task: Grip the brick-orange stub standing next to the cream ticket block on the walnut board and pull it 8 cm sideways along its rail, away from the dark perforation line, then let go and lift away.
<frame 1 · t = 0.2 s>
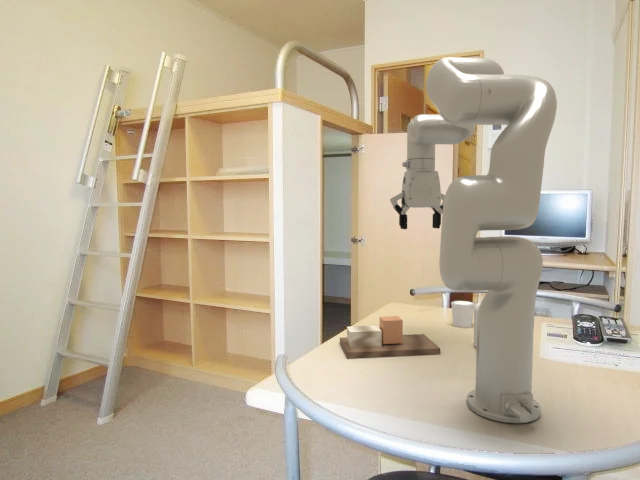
hand: (420, 228, 123), 30 cm above the table, fingers open, 9 cm apart
ticket board: (381, 348, 115), on the table
white cup: (462, 325, 136), on the table
photo printer: (493, 351, 113), on the table
stub: (390, 329, 115), point 5 cm above the table, slide at 0.0 cm
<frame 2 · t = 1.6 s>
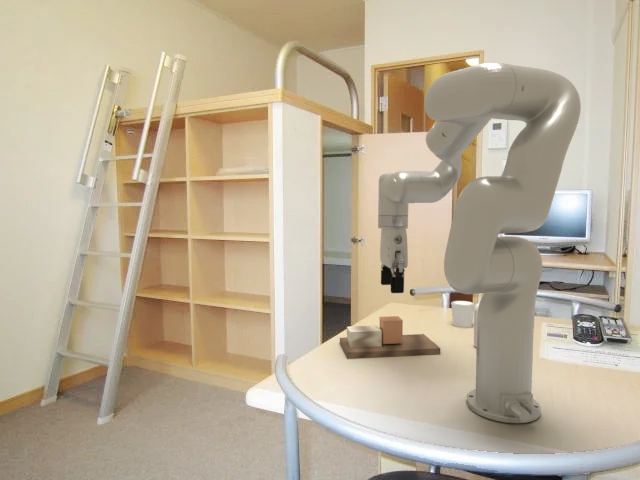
hand: (391, 288, 114), 16 cm above the table, fingers open, 9 cm apart
nothing on the table moved.
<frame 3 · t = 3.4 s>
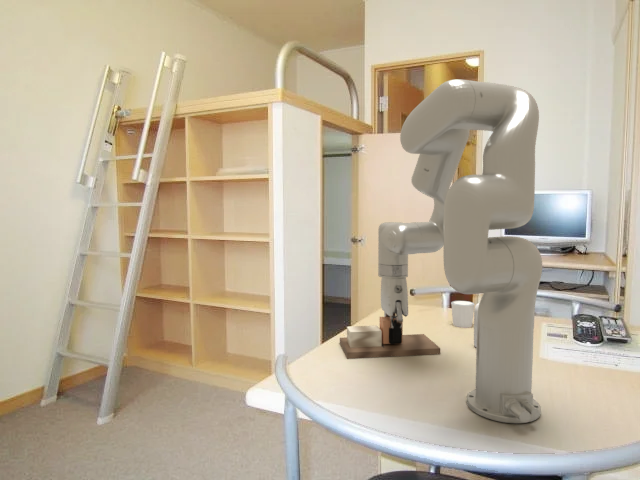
hand: (392, 339, 115), 2 cm above the table, fingers closed on stub, 4 cm apart
stub: (390, 329, 115), point 5 cm above the table, slide at 0.0 cm, touching gripper
everything else where it was.
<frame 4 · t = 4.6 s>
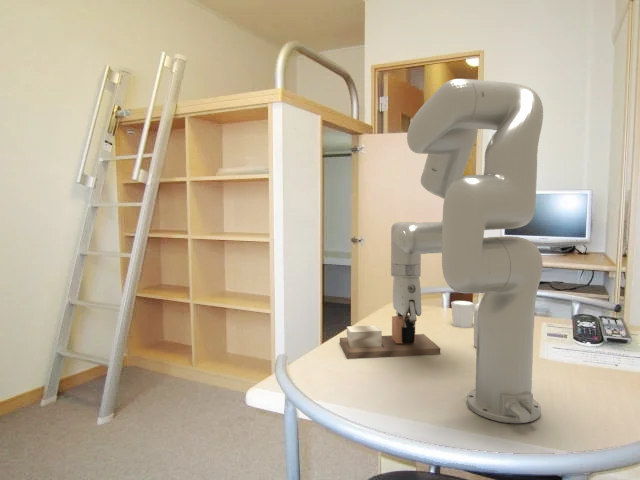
hand: (405, 338, 115), 2 cm above the table, fingers closed on stub, 4 cm apart
stub: (403, 329, 115), point 5 cm above the table, slide at 3.4 cm, touching gripper
everything else where it was.
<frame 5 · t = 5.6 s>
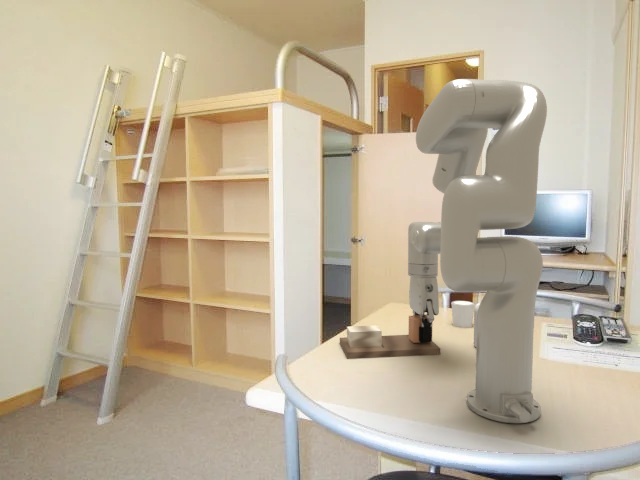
hand: (422, 338, 116), 2 cm above the table, fingers closed on stub, 4 cm apart
stub: (420, 328, 115), point 5 cm above the table, slide at 7.9 cm, touching gripper
everything else where it was.
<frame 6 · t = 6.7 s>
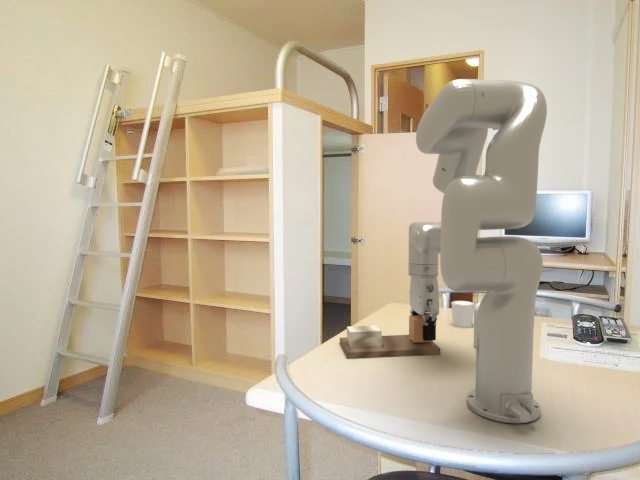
hand: (422, 334, 116), 3 cm above the table, fingers open, 9 cm apart
stub: (420, 328, 116), point 5 cm above the table, slide at 8.0 cm
everything else where it was.
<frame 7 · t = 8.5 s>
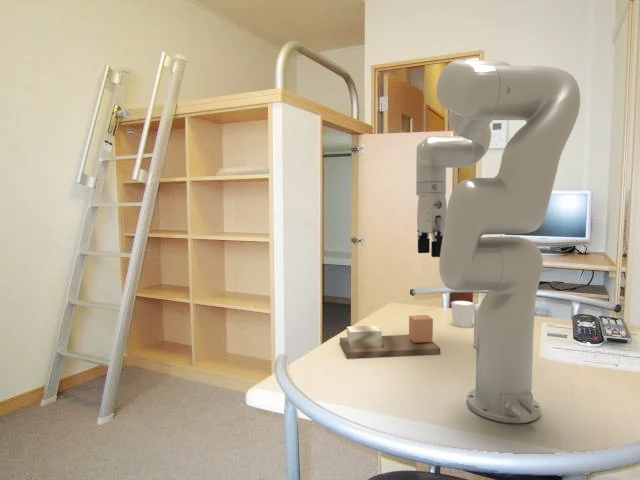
hand: (430, 254, 117), 24 cm above the table, fingers open, 9 cm apart
nothing on the table moved.
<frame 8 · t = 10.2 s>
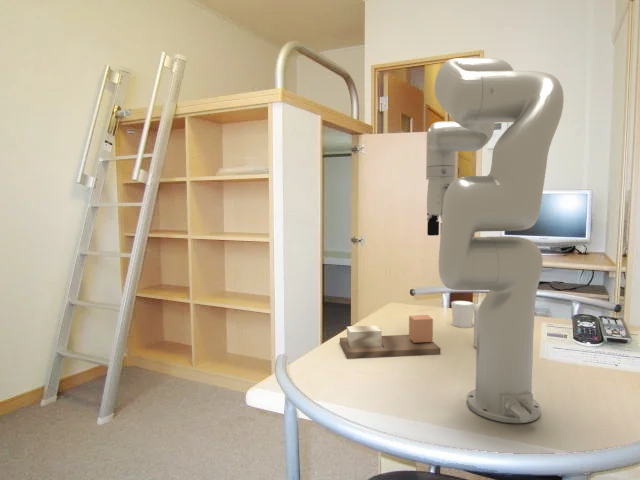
hand: (439, 236, 121), 28 cm above the table, fingers open, 9 cm apart
nothing on the table moved.
at the end: stub slide at 8.0 cm; the gripper is holding nothing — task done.
